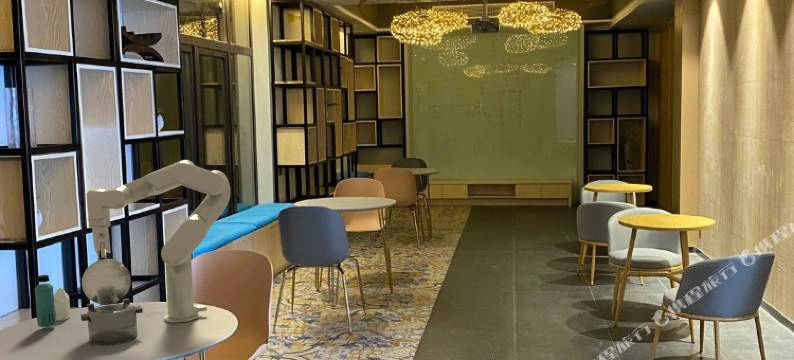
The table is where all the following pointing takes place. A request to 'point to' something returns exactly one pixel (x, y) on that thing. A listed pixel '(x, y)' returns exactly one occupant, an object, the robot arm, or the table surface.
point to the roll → (61, 305)
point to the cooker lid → (106, 281)
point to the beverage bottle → (45, 303)
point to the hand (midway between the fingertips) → (102, 271)
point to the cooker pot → (112, 323)
